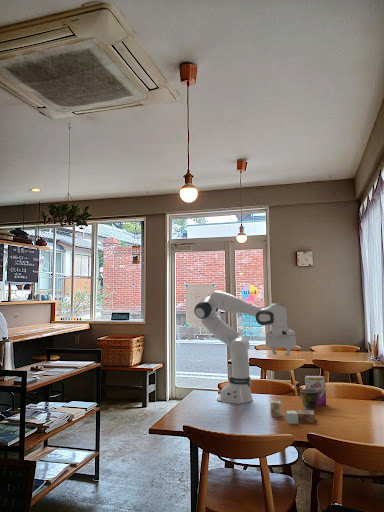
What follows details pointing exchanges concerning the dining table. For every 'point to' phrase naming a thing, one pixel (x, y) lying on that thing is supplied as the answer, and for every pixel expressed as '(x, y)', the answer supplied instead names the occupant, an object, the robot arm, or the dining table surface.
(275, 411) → the oak block
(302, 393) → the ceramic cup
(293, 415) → the grey green block
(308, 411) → the walnut pedestal
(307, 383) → the candy bar box
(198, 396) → the dining table surface
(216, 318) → the robot arm
